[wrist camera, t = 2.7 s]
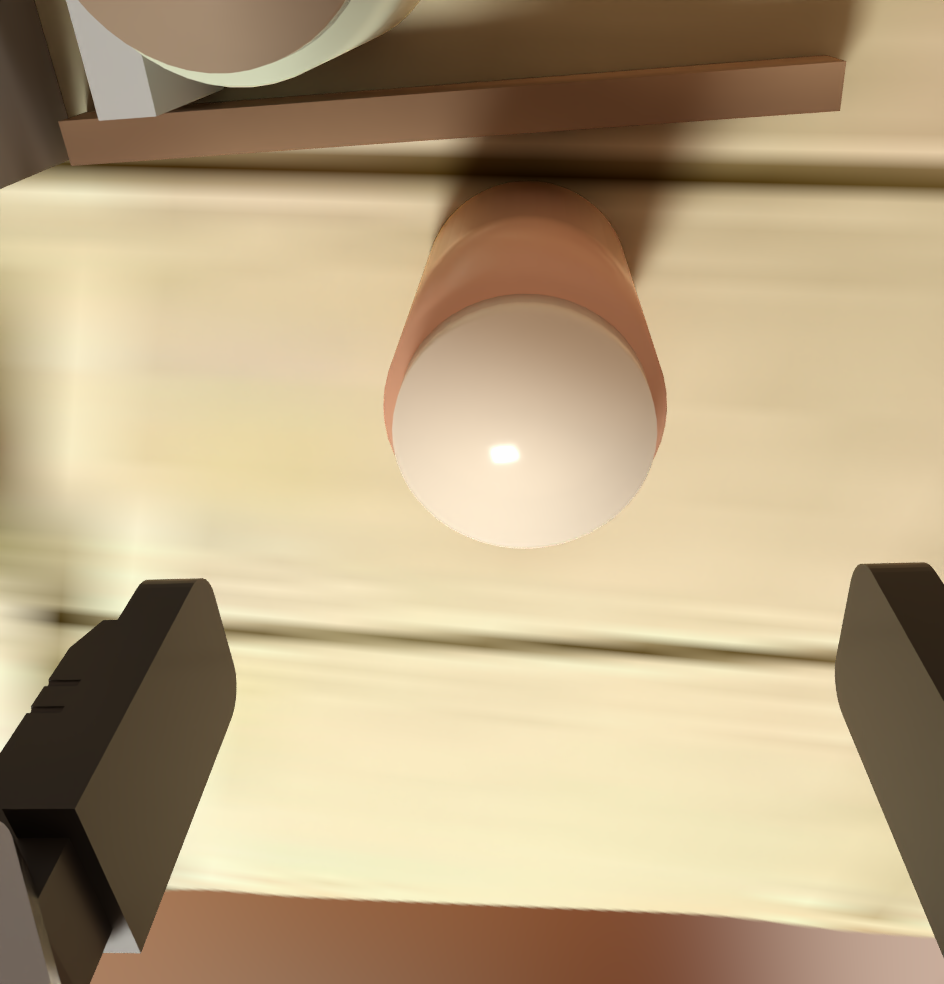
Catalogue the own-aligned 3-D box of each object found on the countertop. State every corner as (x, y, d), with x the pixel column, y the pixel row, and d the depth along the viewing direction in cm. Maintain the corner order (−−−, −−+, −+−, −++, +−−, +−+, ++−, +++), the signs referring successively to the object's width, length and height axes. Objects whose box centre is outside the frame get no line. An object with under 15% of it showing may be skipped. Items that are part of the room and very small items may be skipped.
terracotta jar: (597, 394, 25) (627, 582, 17) (412, 357, 25) (359, 532, 17) (652, 204, 22) (716, 330, 15) (444, 161, 22) (397, 265, 14)
